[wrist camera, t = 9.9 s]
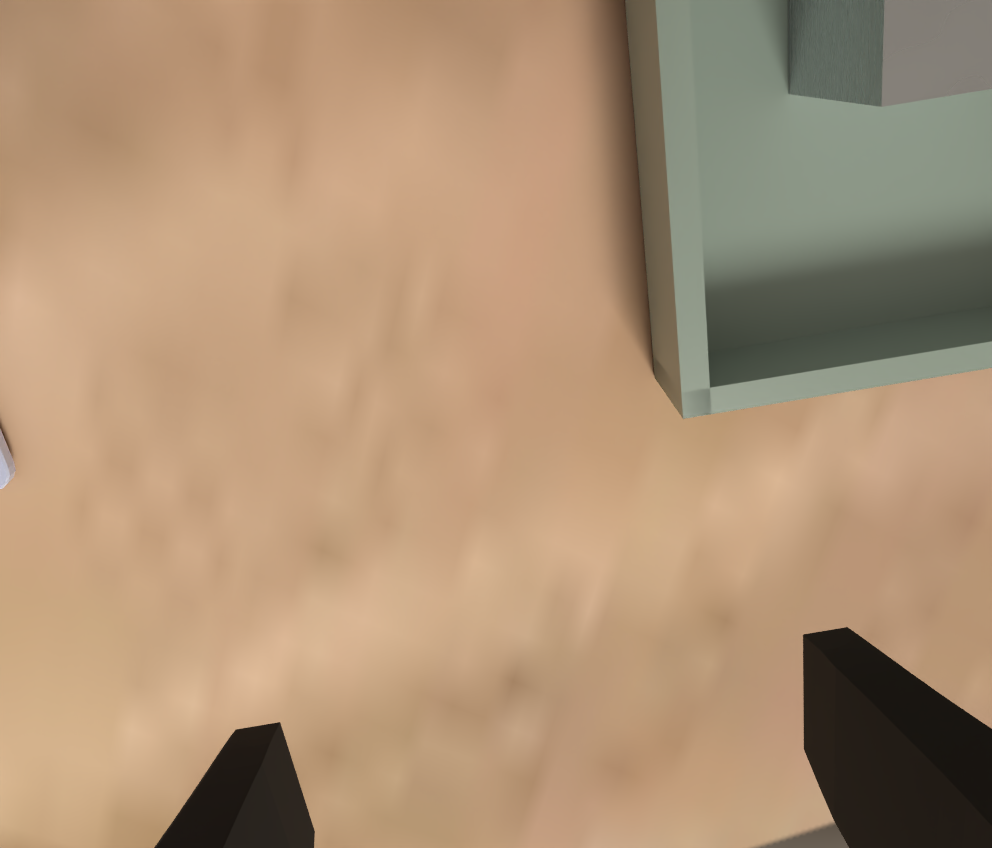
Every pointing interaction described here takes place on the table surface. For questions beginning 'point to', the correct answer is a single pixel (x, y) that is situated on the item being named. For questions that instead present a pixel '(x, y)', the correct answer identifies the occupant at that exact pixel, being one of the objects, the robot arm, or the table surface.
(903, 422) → the table surface
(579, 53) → the table surface
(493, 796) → the table surface
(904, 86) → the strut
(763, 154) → the bin tray
